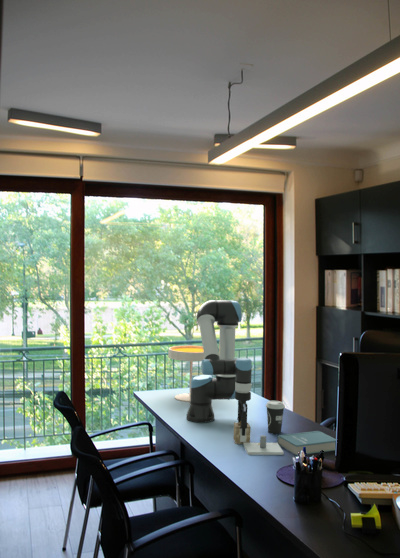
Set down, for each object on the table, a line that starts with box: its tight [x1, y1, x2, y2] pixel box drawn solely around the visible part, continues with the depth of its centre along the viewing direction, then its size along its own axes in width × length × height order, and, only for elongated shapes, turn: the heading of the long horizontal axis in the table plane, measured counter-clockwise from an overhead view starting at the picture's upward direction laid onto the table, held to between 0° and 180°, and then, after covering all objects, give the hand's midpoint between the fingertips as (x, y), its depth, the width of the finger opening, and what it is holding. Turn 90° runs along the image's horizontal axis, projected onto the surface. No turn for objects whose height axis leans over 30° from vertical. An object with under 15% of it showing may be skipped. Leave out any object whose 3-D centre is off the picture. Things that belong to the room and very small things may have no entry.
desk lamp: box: [167, 345, 205, 403], centre depth 338 cm, size 30×30×31 cm
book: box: [276, 430, 336, 456], centre depth 250 cm, size 23×16×5 cm
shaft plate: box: [242, 435, 285, 456], centre depth 244 cm, size 16×13×6 cm
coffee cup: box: [265, 400, 286, 435], centre depth 271 cm, size 10×10×15 cm
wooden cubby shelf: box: [232, 421, 252, 445], centre depth 255 cm, size 7×7×9 cm
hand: (241, 439), depth 255 cm, fingers closed on wooden cubby shelf, 7 cm apart
